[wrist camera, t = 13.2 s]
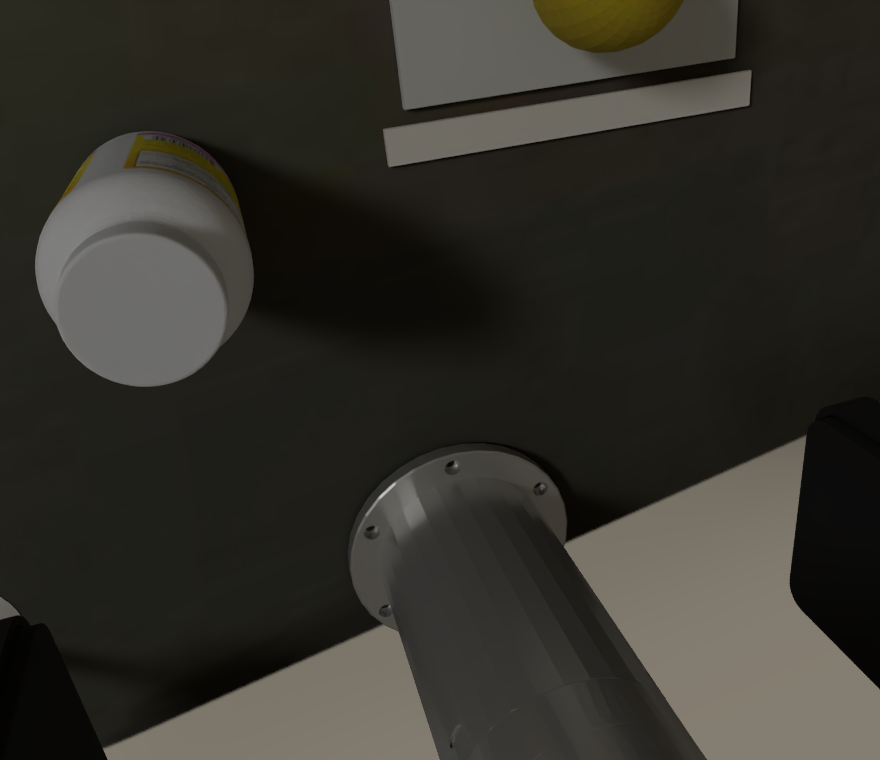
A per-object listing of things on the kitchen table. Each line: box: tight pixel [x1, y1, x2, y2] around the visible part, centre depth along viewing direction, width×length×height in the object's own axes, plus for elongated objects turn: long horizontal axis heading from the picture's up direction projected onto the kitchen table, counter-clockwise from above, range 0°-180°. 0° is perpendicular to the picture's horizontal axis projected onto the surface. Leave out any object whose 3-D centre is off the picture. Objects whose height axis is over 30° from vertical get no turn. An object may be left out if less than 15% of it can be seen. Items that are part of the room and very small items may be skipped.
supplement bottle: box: [35, 131, 254, 387], centre depth 28 cm, size 7×7×13 cm
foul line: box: [383, 70, 751, 167], centre depth 37 cm, size 2×18×1 cm, turn 96°
